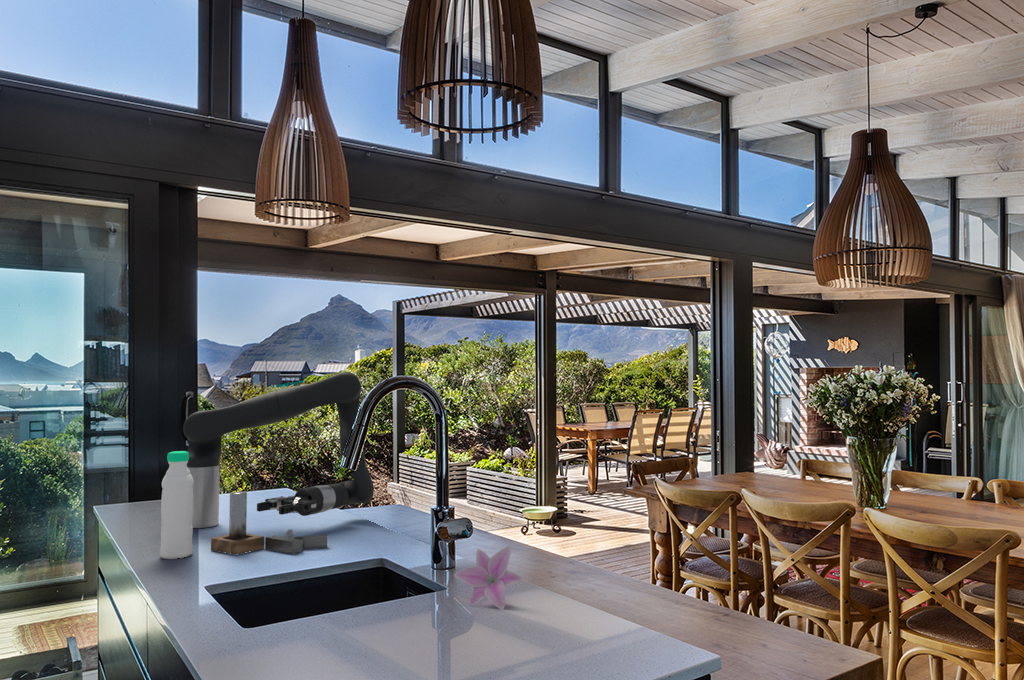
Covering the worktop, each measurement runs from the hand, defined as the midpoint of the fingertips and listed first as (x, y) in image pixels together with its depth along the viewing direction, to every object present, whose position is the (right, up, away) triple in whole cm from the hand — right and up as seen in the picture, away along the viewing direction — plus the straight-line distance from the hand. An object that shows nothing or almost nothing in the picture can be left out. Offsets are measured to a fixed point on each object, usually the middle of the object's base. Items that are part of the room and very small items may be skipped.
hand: (268, 509), depth 189 cm
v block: (+9, -8, -7) cm, 14 cm away
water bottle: (-17, -8, -15) cm, 24 cm away
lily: (+59, -6, -51) cm, 79 cm away
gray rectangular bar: (-5, -8, -8) cm, 13 cm away
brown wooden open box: (-5, -8, -8) cm, 13 cm away
